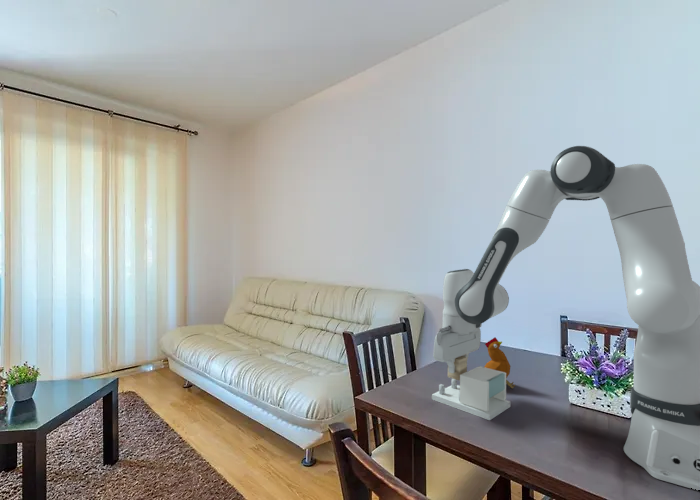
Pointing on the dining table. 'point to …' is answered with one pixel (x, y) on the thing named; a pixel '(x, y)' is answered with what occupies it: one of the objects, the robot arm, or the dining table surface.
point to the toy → (498, 359)
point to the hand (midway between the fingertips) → (457, 370)
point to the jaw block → (459, 367)
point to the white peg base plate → (453, 399)
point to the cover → (482, 387)
